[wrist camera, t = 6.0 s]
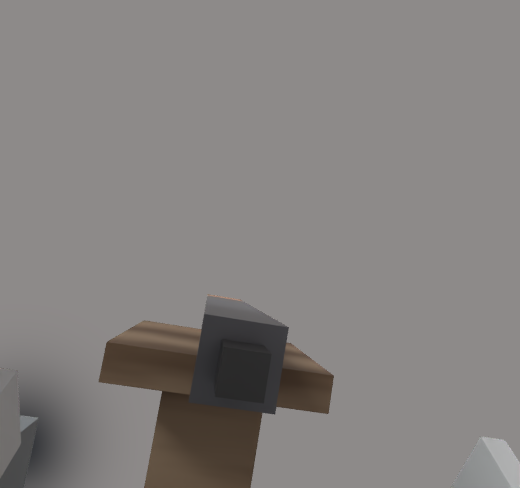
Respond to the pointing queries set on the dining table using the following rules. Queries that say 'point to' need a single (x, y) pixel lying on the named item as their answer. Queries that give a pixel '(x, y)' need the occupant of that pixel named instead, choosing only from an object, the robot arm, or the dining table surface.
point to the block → (20, 455)
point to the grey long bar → (238, 357)
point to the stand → (202, 406)
